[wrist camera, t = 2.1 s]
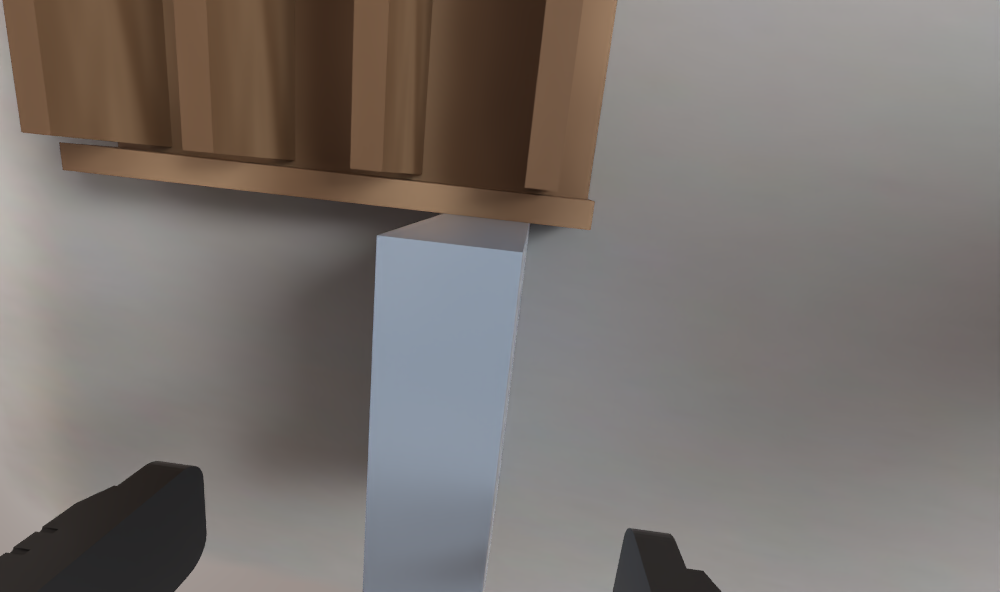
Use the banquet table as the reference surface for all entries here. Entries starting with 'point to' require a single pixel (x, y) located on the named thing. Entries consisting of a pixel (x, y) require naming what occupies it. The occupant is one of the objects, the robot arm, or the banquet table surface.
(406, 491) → the light blue flat block
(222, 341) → the banquet table surface
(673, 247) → the banquet table surface
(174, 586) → the robot arm
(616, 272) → the banquet table surface
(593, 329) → the banquet table surface
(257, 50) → the rack
